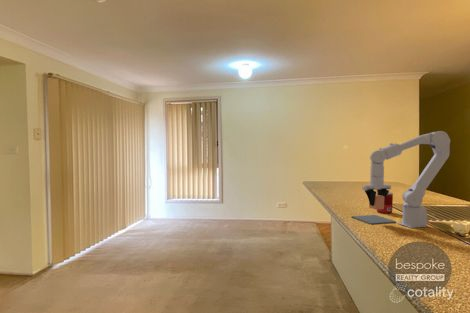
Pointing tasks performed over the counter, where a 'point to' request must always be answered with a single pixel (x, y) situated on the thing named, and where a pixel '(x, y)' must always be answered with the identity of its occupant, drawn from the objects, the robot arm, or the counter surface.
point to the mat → (373, 219)
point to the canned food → (387, 204)
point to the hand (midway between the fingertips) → (376, 204)
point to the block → (378, 202)
